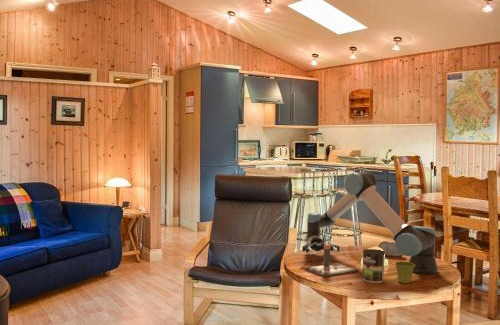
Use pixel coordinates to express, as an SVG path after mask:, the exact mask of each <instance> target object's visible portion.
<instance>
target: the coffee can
mask: <svg viewBox="0 0 500 325" xmlns="http://www.w3.org/2000/svg"><path fill="white" fill-rule="evenodd" d="M362 253H363V254H362V277H361V278H362V281H364V282H367V283H371V284H376V283H377V284H380V283H383V282H384V281H385V280H384V276H385V275H384V270H385V256H384V254H385V252H384V251H381V250H379V249H375V248H374V249H373V248H368V249H363V250H362Z"/></svg>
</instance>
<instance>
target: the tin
mask: <svg viewBox="0 0 500 325" xmlns="http://www.w3.org/2000/svg"><path fill="white" fill-rule="evenodd" d="M379 247H380V248H382V249H383V250H384V252H385V255H386V256H385V257H393V258H401V257H402V256H404V255H403V254H401V253H400V252H399V251H398V250H397V248H396V243H395V241H387V240H385V241H384V240H383V241H381V242H380V243H379V244H378V248H379Z"/></svg>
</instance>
